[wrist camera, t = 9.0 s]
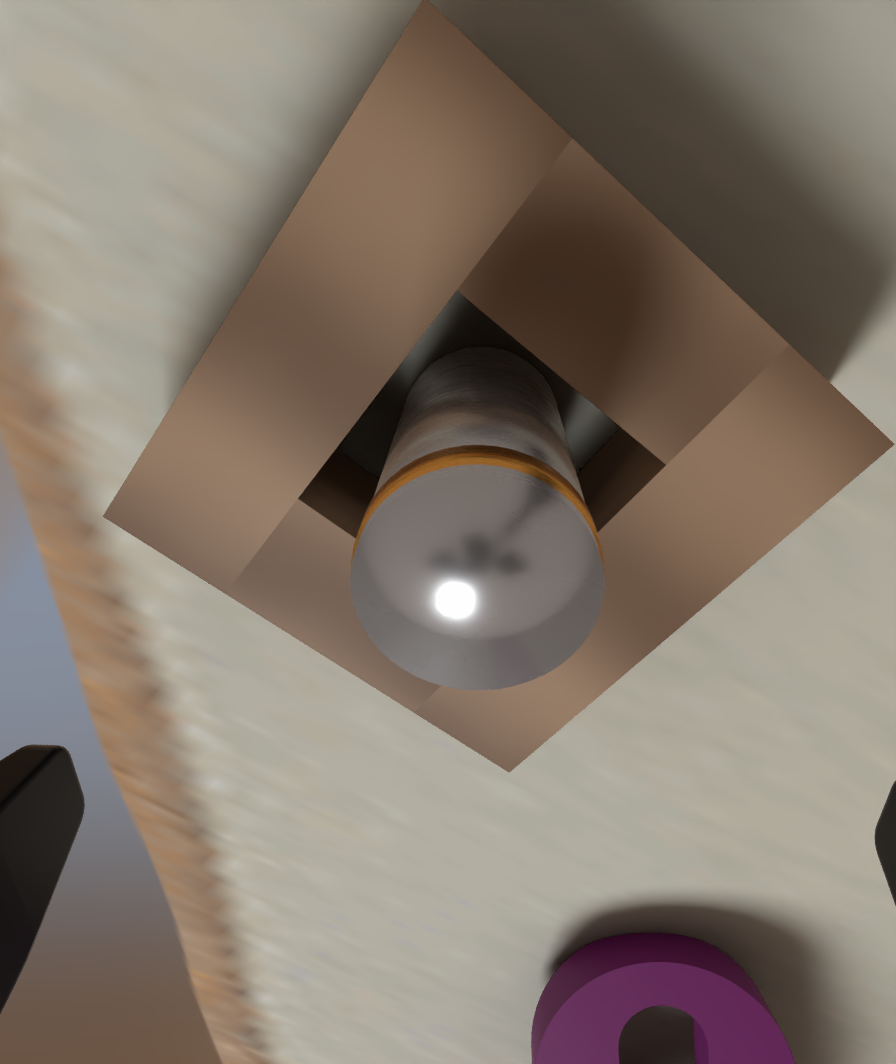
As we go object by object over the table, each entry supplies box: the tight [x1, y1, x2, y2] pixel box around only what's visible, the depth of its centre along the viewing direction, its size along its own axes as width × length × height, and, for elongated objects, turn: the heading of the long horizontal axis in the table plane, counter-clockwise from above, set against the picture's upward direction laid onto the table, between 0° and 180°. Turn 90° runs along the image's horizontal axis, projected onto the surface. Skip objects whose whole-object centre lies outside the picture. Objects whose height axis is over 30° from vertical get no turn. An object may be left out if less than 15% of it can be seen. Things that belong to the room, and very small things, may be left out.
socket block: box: [103, 0, 894, 772], centre depth 17 cm, size 12×12×4 cm
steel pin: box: [350, 347, 605, 690], centre depth 15 cm, size 4×4×8 cm
